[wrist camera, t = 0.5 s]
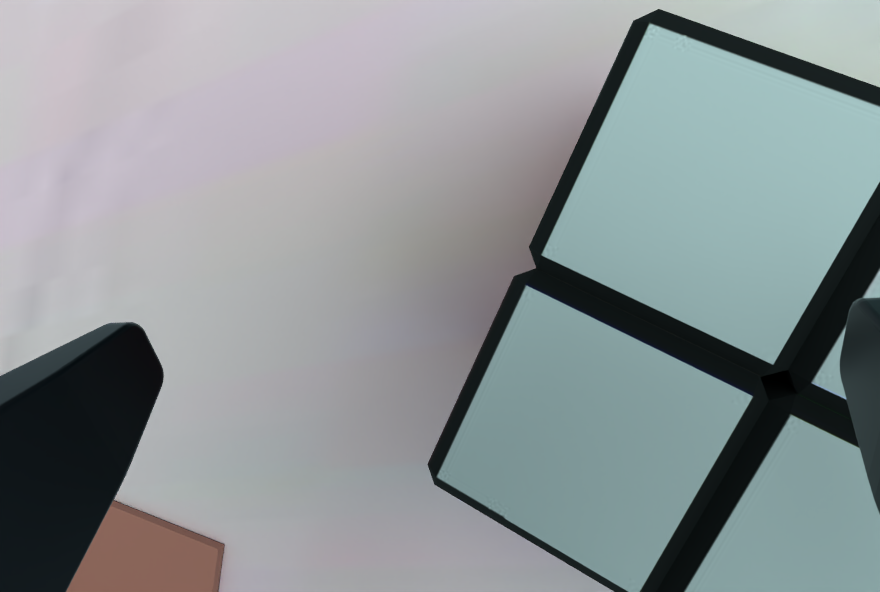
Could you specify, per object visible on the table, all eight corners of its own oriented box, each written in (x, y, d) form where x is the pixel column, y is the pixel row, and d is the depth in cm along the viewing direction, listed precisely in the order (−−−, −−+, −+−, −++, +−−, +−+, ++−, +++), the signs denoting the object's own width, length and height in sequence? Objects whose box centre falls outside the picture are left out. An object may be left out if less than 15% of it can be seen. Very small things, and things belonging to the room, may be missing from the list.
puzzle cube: (520, 376, 23) (415, 483, 14) (654, 96, 21) (638, -5, 11) (811, 530, 21) (926, 788, 11) (1002, 231, 18) (1349, 242, 9)
